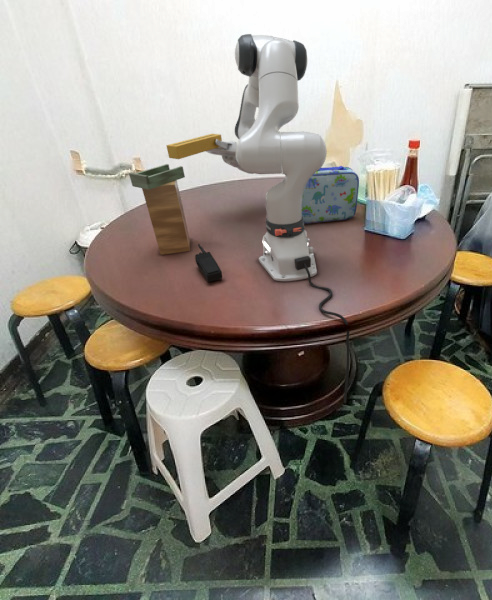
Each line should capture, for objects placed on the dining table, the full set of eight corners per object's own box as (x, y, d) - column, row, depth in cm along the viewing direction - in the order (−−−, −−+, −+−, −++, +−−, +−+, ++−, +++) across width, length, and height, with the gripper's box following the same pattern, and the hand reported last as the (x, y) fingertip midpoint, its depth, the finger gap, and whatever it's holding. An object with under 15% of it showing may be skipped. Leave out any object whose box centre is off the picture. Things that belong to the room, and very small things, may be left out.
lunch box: (350, 211, 153) (353, 161, 141) (358, 220, 144) (363, 167, 132) (292, 217, 149) (290, 165, 137) (296, 226, 140) (295, 173, 128)
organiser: (177, 235, 136) (159, 161, 120) (204, 242, 130) (189, 166, 114) (146, 250, 125) (122, 172, 110) (173, 259, 119) (152, 177, 104)
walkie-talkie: (200, 280, 104) (182, 249, 117) (216, 288, 108) (197, 257, 121) (213, 264, 103) (192, 234, 116) (228, 273, 107) (207, 243, 120)
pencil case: (213, 145, 133) (211, 133, 131) (222, 146, 131) (220, 134, 129) (169, 158, 118) (166, 145, 115) (178, 159, 116) (175, 146, 113)
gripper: (214, 143, 144) (190, 129, 131) (254, 148, 135) (232, 133, 123) (211, 159, 145) (187, 147, 132) (251, 164, 136) (228, 152, 124)
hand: (209, 140), depth 127 cm, fingers closed on pencil case, 4 cm apart
